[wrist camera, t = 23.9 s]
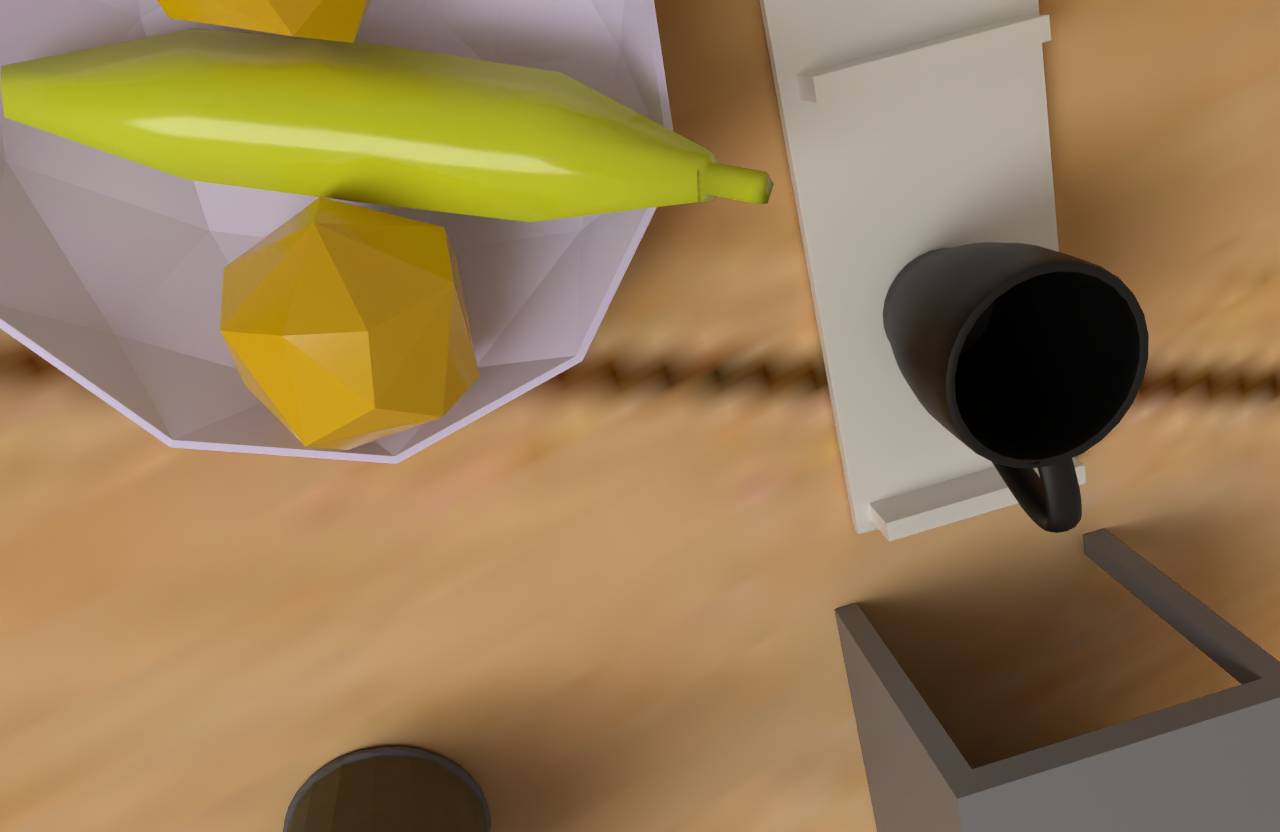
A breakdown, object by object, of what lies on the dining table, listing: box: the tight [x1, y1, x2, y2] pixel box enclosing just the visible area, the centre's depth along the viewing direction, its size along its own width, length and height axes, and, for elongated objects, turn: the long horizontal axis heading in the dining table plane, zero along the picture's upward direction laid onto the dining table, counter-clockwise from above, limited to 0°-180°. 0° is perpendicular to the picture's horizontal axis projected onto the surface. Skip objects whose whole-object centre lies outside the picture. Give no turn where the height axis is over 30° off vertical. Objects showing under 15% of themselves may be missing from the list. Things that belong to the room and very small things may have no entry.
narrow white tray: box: [760, 0, 1086, 542], centre depth 42 cm, size 32×12×8 cm, turn 14°
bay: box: [835, 528, 1280, 832], centre depth 49 cm, size 16×15×14 cm
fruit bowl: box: [0, 0, 773, 464], centre depth 36 cm, size 28×27×11 cm
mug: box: [883, 242, 1148, 533], centre depth 43 cm, size 8×12×10 cm
